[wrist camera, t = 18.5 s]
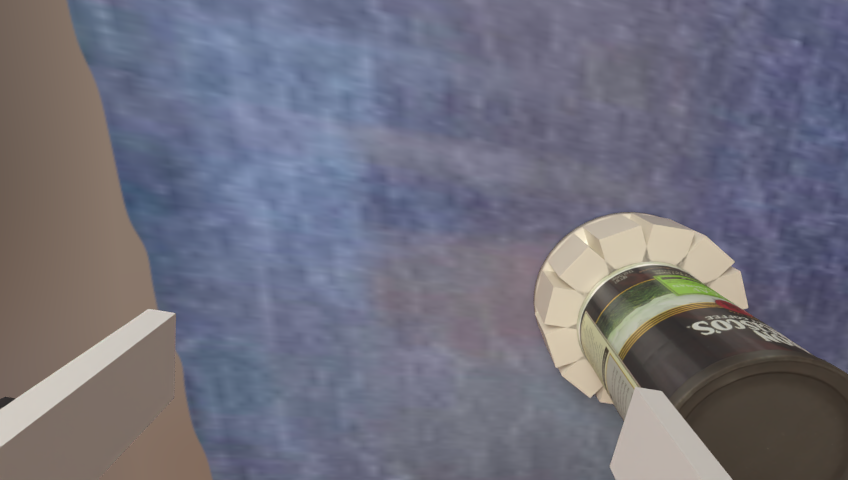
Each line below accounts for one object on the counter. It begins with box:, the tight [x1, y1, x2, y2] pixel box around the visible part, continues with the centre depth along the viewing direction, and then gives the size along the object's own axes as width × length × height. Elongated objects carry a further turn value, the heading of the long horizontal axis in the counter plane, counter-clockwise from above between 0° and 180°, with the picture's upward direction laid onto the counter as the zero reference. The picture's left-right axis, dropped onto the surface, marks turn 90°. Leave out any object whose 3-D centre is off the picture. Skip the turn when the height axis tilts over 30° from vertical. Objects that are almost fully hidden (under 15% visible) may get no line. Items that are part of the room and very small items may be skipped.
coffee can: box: [577, 262, 848, 480], centre depth 29 cm, size 10×10×14 cm
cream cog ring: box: [534, 212, 748, 404], centre depth 38 cm, size 15×15×5 cm
